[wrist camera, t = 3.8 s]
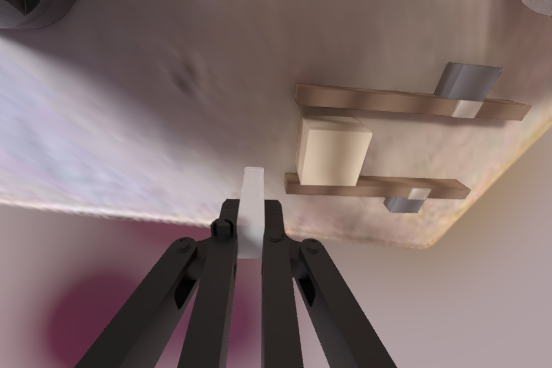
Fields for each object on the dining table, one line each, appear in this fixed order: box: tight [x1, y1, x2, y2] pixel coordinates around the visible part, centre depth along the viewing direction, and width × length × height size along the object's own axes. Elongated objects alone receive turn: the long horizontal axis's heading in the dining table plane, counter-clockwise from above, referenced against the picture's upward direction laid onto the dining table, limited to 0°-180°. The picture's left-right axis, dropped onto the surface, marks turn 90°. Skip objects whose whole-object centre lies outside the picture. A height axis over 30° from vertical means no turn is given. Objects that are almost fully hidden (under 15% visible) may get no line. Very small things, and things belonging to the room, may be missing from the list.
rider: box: [295, 115, 373, 186], centre depth 23 cm, size 6×6×5 cm
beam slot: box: [284, 63, 532, 213], centre depth 25 cm, size 24×18×3 cm
